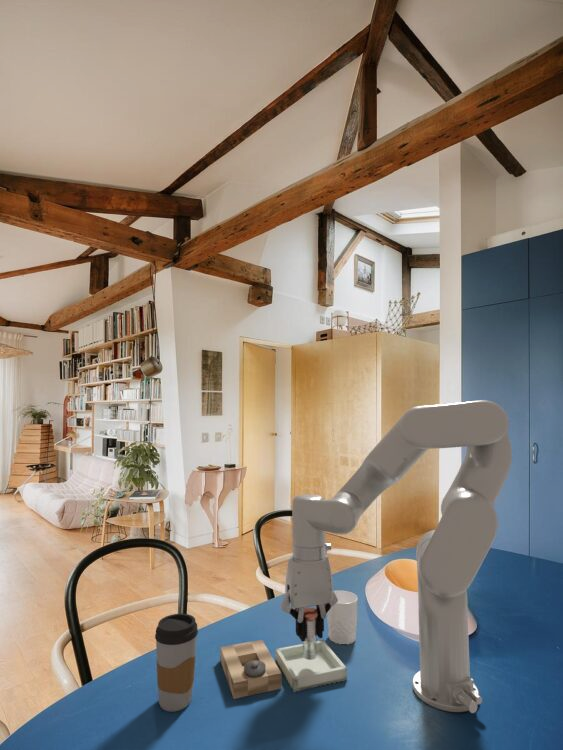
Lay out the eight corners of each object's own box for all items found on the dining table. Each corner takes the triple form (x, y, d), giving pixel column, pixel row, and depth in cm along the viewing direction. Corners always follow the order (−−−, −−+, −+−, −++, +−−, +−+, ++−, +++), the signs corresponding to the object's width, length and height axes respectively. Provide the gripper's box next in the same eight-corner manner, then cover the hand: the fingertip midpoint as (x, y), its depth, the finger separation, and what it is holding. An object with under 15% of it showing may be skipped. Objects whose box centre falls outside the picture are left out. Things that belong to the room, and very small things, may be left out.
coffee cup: (179, 683, 91) (180, 608, 93) (205, 699, 86) (206, 620, 87) (144, 703, 85) (146, 623, 86) (170, 722, 80) (172, 637, 81)
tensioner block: (281, 688, 90) (281, 664, 90) (233, 698, 86) (233, 674, 87) (262, 652, 103) (262, 632, 103) (220, 660, 99) (220, 639, 100)
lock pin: (321, 659, 95) (320, 613, 96) (305, 662, 94) (304, 616, 95) (314, 650, 99) (314, 606, 99) (298, 653, 97) (298, 608, 98)
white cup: (357, 647, 105) (357, 604, 106) (325, 644, 106) (324, 602, 107) (358, 631, 113) (357, 591, 113) (328, 628, 114) (327, 589, 115)
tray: (347, 680, 92) (346, 668, 92) (293, 692, 88) (293, 679, 88) (323, 651, 103) (323, 640, 104) (275, 660, 100) (275, 649, 100)
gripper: (335, 543, 104) (336, 623, 103) (269, 550, 99) (269, 635, 97) (349, 552, 97) (351, 638, 96) (279, 561, 92) (280, 652, 90)
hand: (309, 635), depth 96 cm, fingers closed on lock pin, 3 cm apart
